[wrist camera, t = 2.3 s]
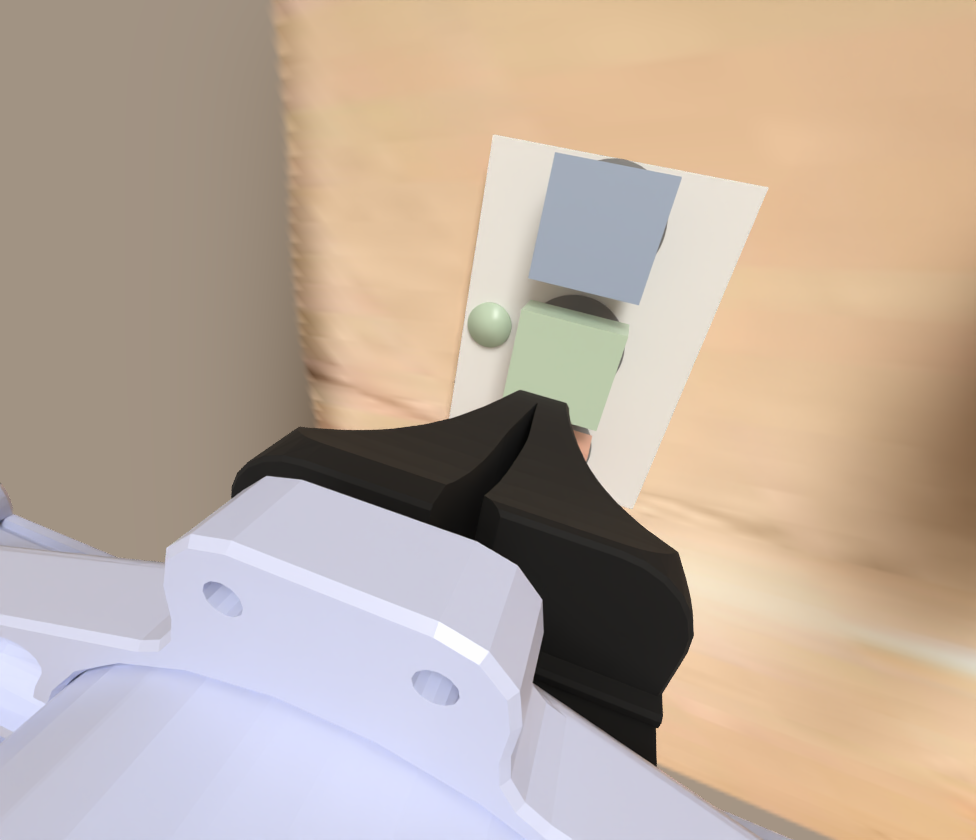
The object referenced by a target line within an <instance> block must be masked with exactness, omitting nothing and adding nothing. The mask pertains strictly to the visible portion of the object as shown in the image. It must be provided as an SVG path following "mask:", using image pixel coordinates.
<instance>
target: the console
mask: <svg viewBox="0 0 976 840" xmlns="http://www.w3.org/2000/svg"><path fill="white" fill-rule="evenodd" d="M555 152H557V153H562V154H567V155H572V156H577V157H583V158H588V159H593V160H598V161H603V162H608V163H613V164H618V165H624V166H629V167H634V168H639V169H644V170H649V171H654V172H659V173H665V174H670V175H675V176H680V177H682V179H681V182H680V185H679V188H678V191H677V194H676V197H675V200H674V203H673V206H672V209H671V212H670V215H669V218H668V221H667V224H666V226H665V229H664V232H663V235H662V238H661V241H660V244H659V247H658V250H657V253H656V256H655V259H654V262H653V265H652V268H651V271H650V274H649V277H648V280H647V283H646V286H645V289H644V292H643V295H642V298H641V300H640V303H639V305H635V304H631V303H627V302H623V301H619V300H615V299H611V298H607V297H603V296H599V295H594V294H590V293H586V292H582V291H578V290H574V289H570V288H566V287H562V286H558V285H554V284H550V283H546V282H541V281H537V280H533V279H529V278H528V276H529V272H530V267H531V262H532V258H533V253H534V248H535V243H536V239H537V234H538V229H539V225H540V220H541V215H542V211H543V206H544V201H545V197H546V192H547V187H548V183H549V178H550V173H551V169H552V164H553V159H554V155H555ZM767 190H768V187H763V186H758V185H753V184H748V183H743V182H737V181H732V180H727V179H722V178H717V177H711V176H706V175H701V174H696V173H691V172H686V171H680V170H675V169H670V168H665V167H660V166H654V165H649V164H644V163H639V162H634V161H628V160H624V159H618V158H613V157H608V156H603V155H597V154H592V153H587V152H582V151H577V150H571V149H566V148H561V147H556V146H551V145H546V144H540V143H535V142H530V141H525V140H520V139H514V138H509V137H504V136H499V135H494V134H493V139H492V145H491V152H490V158H489V165H488V171H487V178H486V184H485V190H484V197H483V203H482V210H481V216H480V223H479V229H478V236H477V242H476V249H475V255H474V262H473V268H472V275H471V281H470V287H469V294H468V300H467V307H466V313H465V320H464V326H463V333H462V339H461V346H460V352H459V359H458V365H457V372H456V378H455V385H454V391H453V397H452V404H451V410H450V417H449V419H450V418H453V417H457V416H460V415H462V414H465V413H468V412H470V411H473V410H476V409H478V408H481V407H484V406H486V405H488V404H490V403H492V402H495V401H497V400H499V399H501V398H503V393H504V389H505V384H506V379H507V374H508V370H509V365H510V360H511V356H512V351H513V346H514V342H515V337H516V332H517V328H518V323H519V318H520V314H521V309H522V308H523V307H524V306H525V305H526V304H527V303H528V302H529V301H530V300H535V301H538V302H542V303H546V304H550V305H554V306H558V307H562V308H566V309H570V310H574V311H578V312H582V313H586V314H590V315H594V316H598V317H602V318H606V319H610V320H614V321H617V322H621V323H625V324H629V335H628V339H627V342H626V345H625V348H624V351H623V354H622V357H621V360H620V363H619V366H618V369H617V372H616V375H615V377H614V380H613V383H612V386H611V389H610V392H609V395H608V398H607V401H606V404H605V407H604V410H603V413H602V416H601V419H600V422H599V425H598V428H597V431H594V430H591V429H587V428H584V427H580V426H577V425H574V424H572V428H573V430H575V431H578V432H582V433H585V434H588V435H592V440H591V444H590V449H589V454H588V457H587V460H586V462H587V464H588V466H589V468H590V469H591V471H592V472H593V474H594V475H595V477H596V478H597V480H598V481H599V482H600V484H601V485H602V486H603V487H604V489H605V490H606V491H607V492H608V493H609V494H610V495H611V497H612V498H613V499H614V500H615V501H616V502H617V503H618V504H619V505H620V506H623V507H626V508H629V509H633V507H634V505H635V502H636V500H637V498H638V495H639V493H640V490H641V488H642V486H643V483H644V481H645V479H646V476H647V474H648V472H649V469H650V467H651V464H652V462H653V460H654V457H655V455H656V453H657V450H658V448H659V445H660V443H661V441H662V438H663V436H664V434H665V431H666V429H667V427H668V424H669V422H670V419H671V417H672V415H673V412H674V410H675V408H676V405H677V403H678V401H679V398H680V396H681V393H682V391H683V389H684V386H685V384H686V382H687V379H688V377H689V375H690V372H691V370H692V367H693V365H694V363H695V360H696V358H697V356H698V353H699V351H700V349H701V346H702V344H703V341H704V339H705V337H706V334H707V332H708V330H709V327H710V325H711V323H712V320H713V318H714V315H715V313H716V311H717V308H718V306H719V304H720V301H721V299H722V297H723V294H724V292H725V289H726V287H727V285H728V282H729V280H730V278H731V275H732V273H733V271H734V268H735V266H736V263H737V261H738V259H739V256H740V254H741V252H742V249H743V247H744V244H745V242H746V240H747V237H748V235H749V233H750V230H751V228H752V226H753V223H754V221H755V218H756V216H757V214H758V211H759V209H760V207H761V204H762V202H763V200H764V197H765V195H766V192H767Z"/></svg>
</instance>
